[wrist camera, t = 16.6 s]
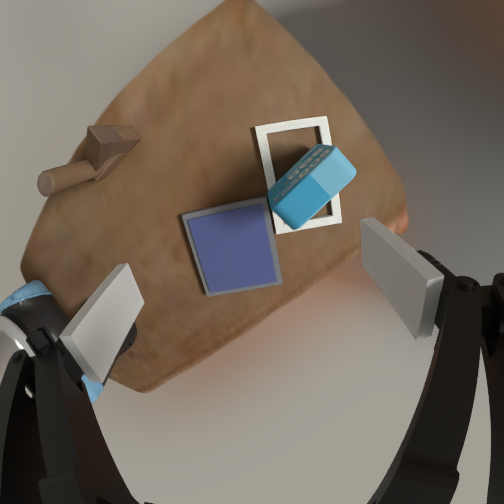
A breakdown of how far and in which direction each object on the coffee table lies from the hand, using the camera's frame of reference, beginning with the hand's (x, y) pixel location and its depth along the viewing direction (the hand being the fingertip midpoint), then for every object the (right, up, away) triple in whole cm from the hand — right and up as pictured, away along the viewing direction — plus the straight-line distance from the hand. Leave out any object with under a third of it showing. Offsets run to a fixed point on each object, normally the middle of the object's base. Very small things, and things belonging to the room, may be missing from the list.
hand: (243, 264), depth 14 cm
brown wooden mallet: (-24, +19, +29) cm, 42 cm away
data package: (+9, +13, +30) cm, 34 cm away
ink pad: (-3, +1, +36) cm, 36 cm away
